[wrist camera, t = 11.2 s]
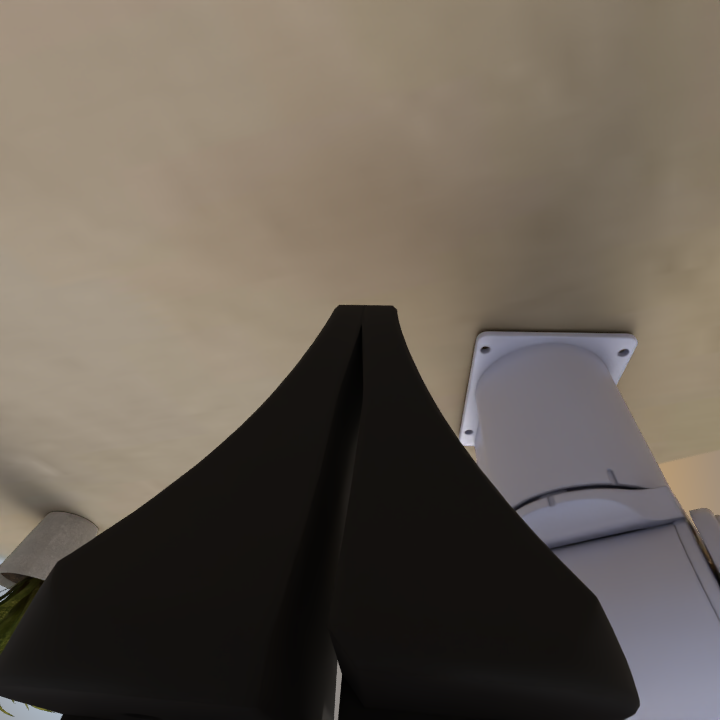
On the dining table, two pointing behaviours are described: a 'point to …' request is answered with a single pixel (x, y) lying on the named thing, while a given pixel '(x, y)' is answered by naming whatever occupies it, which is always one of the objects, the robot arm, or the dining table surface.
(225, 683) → the robot arm
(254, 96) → the dining table surface
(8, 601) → the house plant
